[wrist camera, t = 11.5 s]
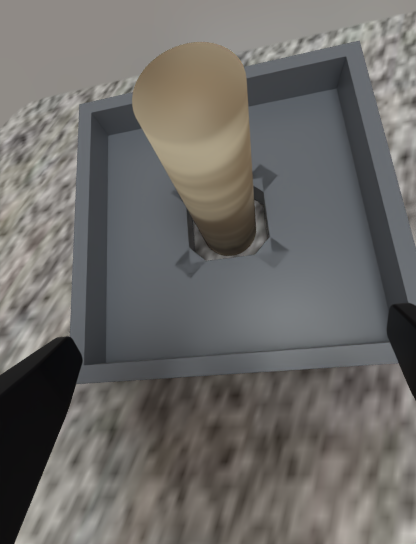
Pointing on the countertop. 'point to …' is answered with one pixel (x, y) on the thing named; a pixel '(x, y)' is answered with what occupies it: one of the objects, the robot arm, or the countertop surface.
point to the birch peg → (203, 137)
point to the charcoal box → (254, 268)
